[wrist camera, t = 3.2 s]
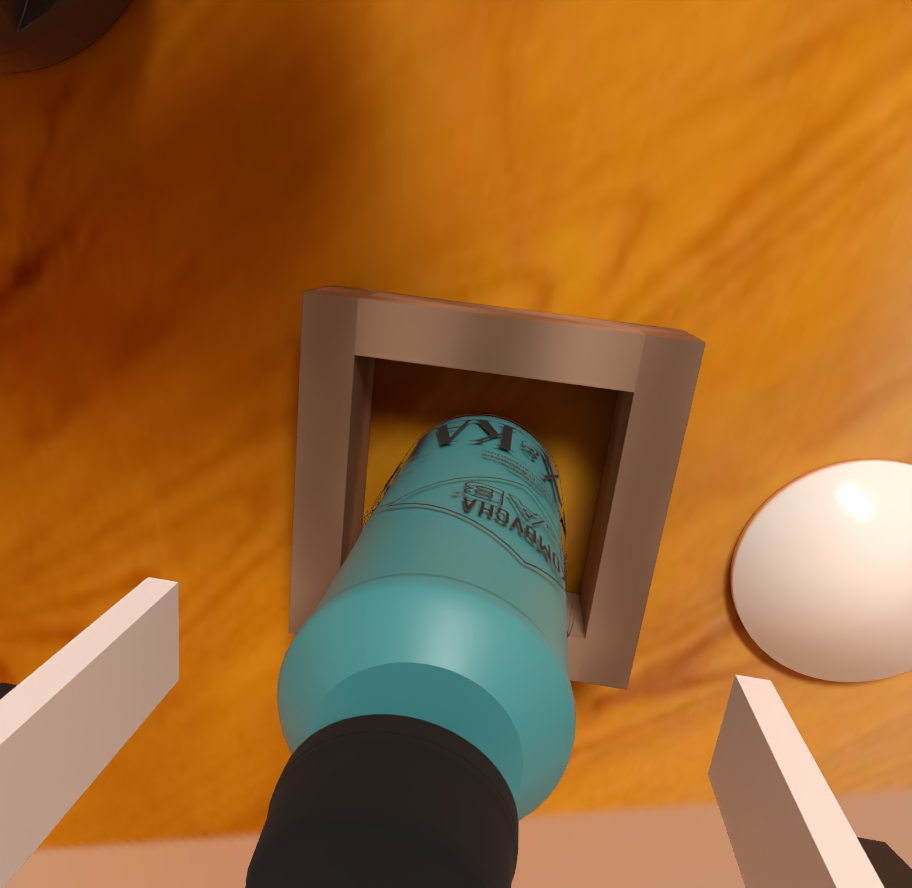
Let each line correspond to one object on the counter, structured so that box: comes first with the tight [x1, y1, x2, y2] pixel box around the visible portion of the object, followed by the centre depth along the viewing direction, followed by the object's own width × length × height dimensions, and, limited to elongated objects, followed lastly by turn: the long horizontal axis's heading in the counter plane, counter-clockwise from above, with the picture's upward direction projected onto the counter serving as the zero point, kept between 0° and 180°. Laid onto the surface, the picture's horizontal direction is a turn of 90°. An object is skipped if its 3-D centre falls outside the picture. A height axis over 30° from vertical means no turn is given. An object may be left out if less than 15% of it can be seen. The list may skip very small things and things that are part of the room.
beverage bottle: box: [245, 413, 576, 888], centre depth 19 cm, size 6×7×20 cm
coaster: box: [730, 459, 912, 682], centre depth 27 cm, size 10×10×1 cm
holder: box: [289, 286, 705, 690], centre depth 26 cm, size 14×14×4 cm
